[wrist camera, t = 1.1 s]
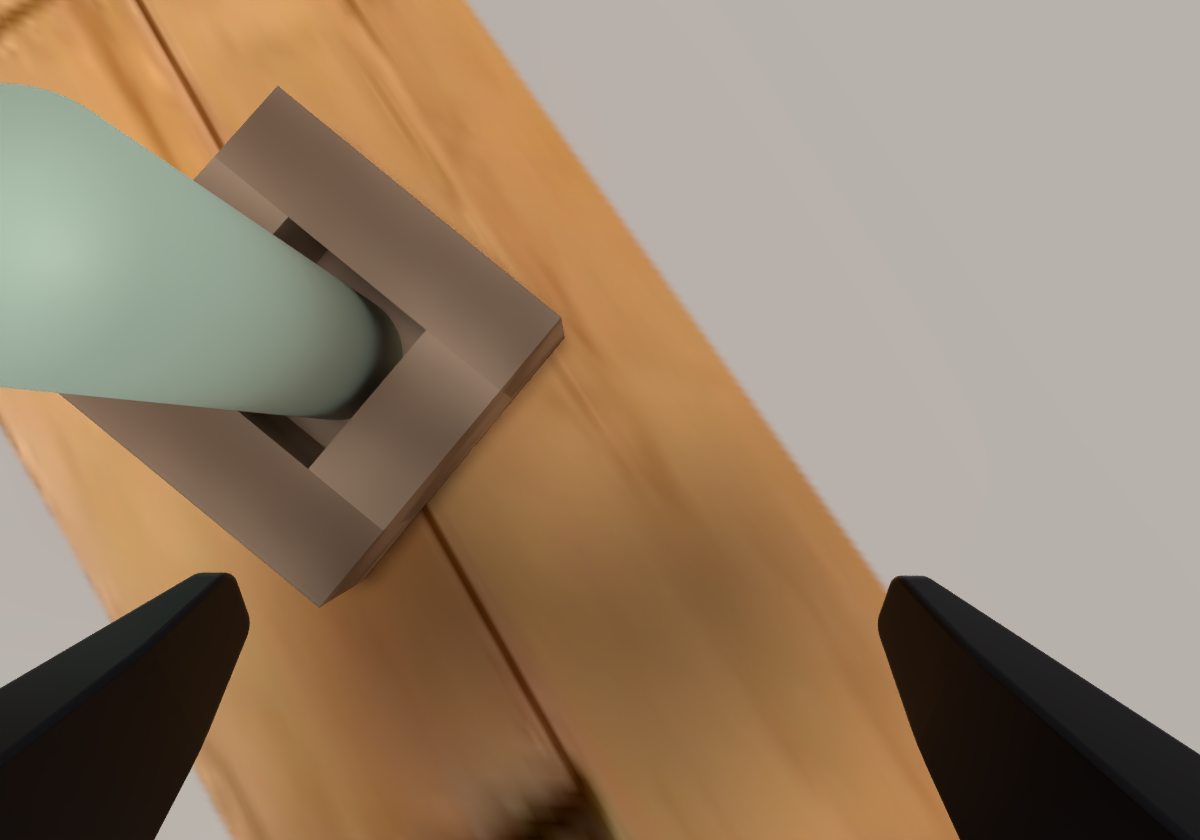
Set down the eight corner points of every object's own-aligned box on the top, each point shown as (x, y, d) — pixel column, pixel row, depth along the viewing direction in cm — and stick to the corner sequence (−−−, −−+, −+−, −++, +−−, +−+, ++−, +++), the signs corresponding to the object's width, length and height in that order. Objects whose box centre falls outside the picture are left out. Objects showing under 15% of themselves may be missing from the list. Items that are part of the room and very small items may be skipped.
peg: (345, 446, 21) (9, 448, 9) (245, 364, 21) (-231, 251, 9) (429, 347, 22) (217, 214, 9) (330, 266, 22) (-16, 23, 9)
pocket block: (362, 581, 22) (318, 607, 18) (116, 379, 22) (26, 367, 18) (564, 337, 22) (561, 317, 19) (325, 141, 22) (277, 85, 19)
